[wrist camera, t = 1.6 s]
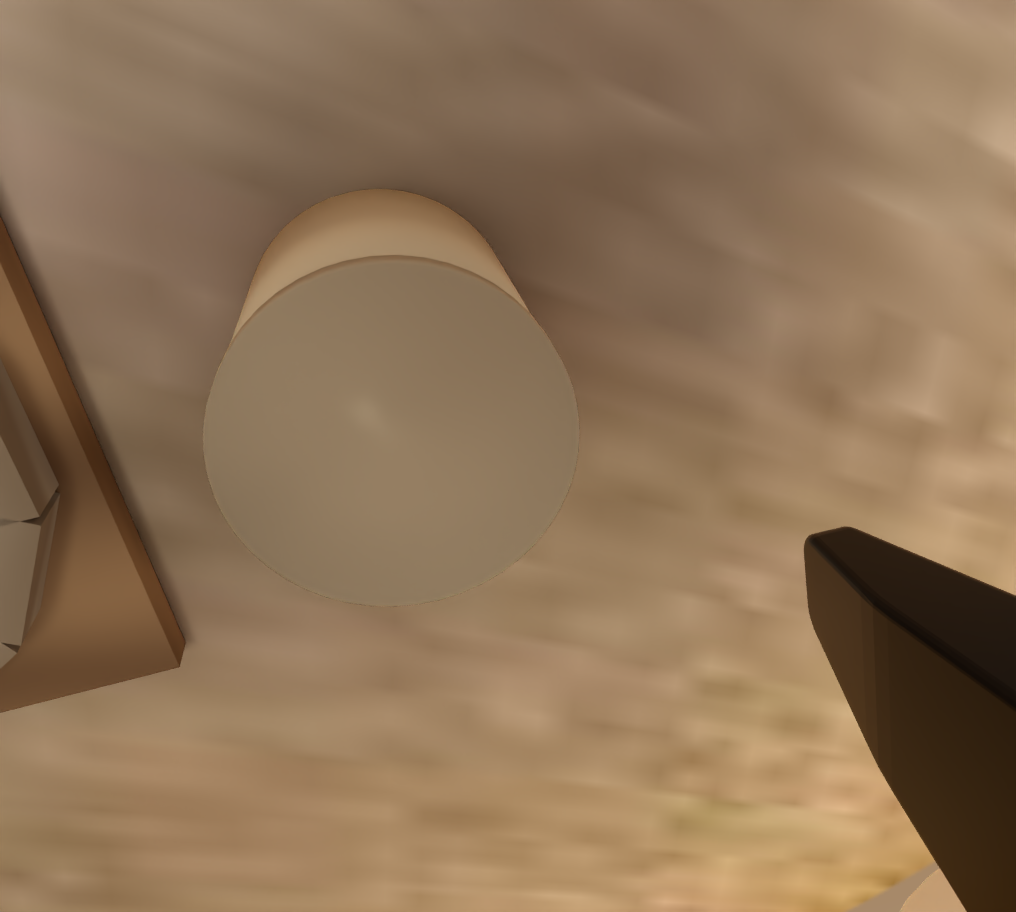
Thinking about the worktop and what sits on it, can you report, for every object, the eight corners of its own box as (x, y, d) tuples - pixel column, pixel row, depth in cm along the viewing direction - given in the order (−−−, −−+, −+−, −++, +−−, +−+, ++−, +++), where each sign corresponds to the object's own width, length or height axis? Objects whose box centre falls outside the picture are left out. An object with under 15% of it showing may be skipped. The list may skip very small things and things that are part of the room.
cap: (536, 410, 23) (605, 557, 17) (291, 470, 23) (270, 643, 17) (484, 158, 21) (544, 222, 14) (207, 222, 20) (145, 317, 14)
